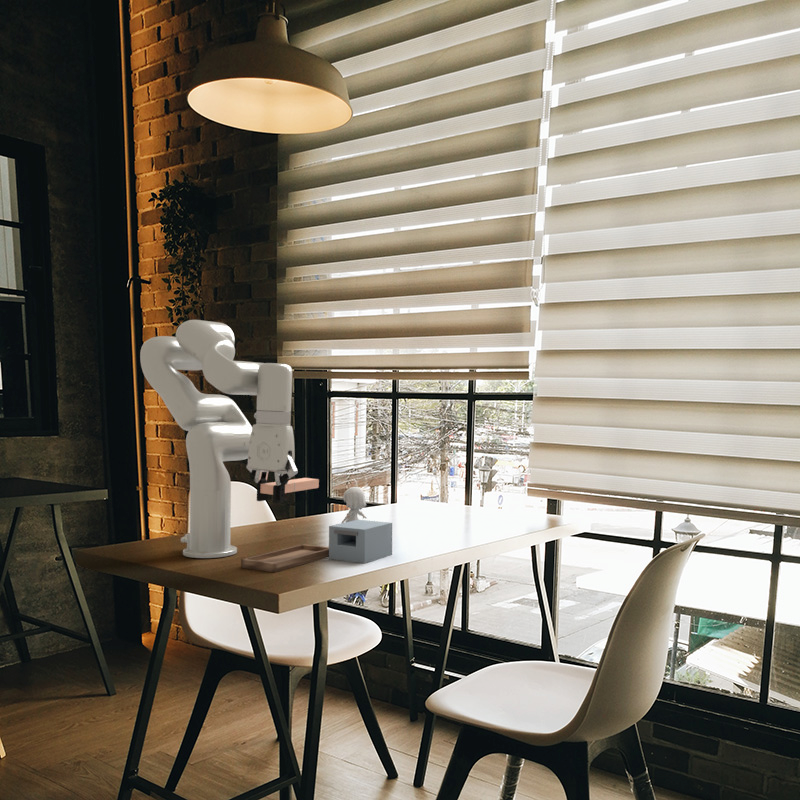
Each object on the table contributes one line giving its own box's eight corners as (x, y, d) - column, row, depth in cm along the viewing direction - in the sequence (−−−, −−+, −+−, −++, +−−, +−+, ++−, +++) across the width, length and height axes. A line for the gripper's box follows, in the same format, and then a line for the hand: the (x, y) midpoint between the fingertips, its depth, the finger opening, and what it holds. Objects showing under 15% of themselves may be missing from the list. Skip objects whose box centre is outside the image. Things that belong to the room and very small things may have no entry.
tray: (240, 567, 159) (241, 559, 159) (302, 551, 178) (302, 544, 178) (274, 572, 154) (274, 563, 154) (334, 555, 173) (334, 547, 173)
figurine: (357, 540, 193) (357, 484, 193) (375, 543, 190) (376, 485, 190) (332, 546, 184) (333, 487, 185) (351, 549, 181) (351, 489, 181)
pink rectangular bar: (260, 493, 160) (260, 483, 160) (305, 486, 174) (305, 477, 174) (274, 495, 158) (274, 485, 158) (318, 487, 172) (318, 479, 172)
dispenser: (327, 559, 168) (327, 526, 169) (357, 550, 179) (357, 519, 179) (363, 563, 163) (363, 529, 164) (392, 554, 174) (392, 522, 174)
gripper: (233, 417, 161) (230, 499, 161) (292, 421, 153) (288, 508, 153) (256, 417, 168) (253, 495, 168) (314, 420, 159) (310, 504, 159)
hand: (270, 500), depth 160 cm, fingers closed on pink rectangular bar, 4 cm apart
